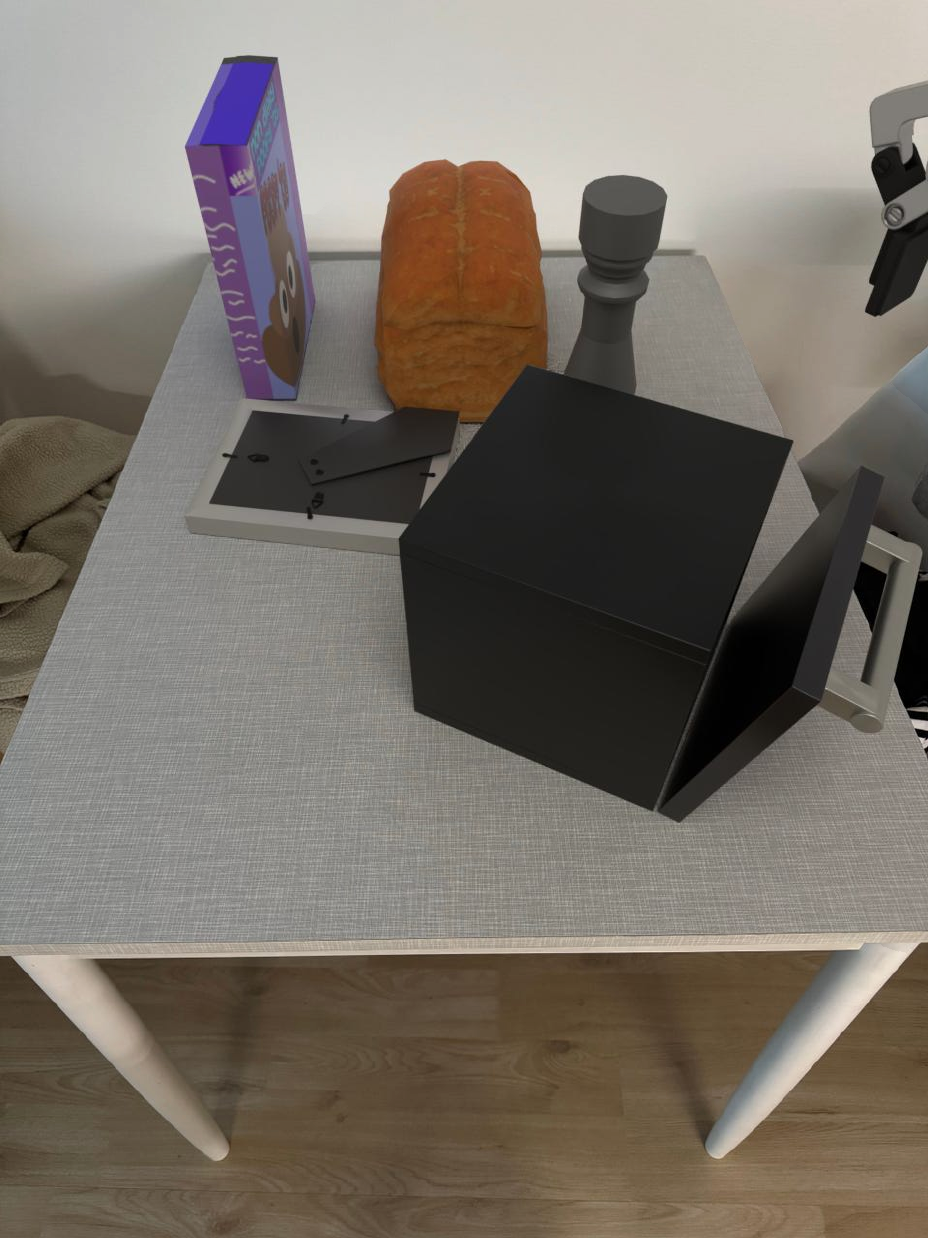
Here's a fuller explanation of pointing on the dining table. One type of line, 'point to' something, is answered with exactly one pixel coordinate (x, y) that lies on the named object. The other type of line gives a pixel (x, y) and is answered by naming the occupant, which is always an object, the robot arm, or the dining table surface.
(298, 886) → the dining table surface
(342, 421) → the picture frame
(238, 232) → the cereal box
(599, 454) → the oven
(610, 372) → the candle holder
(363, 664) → the dining table surface
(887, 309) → the robot arm
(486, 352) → the bread
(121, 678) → the dining table surface
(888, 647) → the oven door
